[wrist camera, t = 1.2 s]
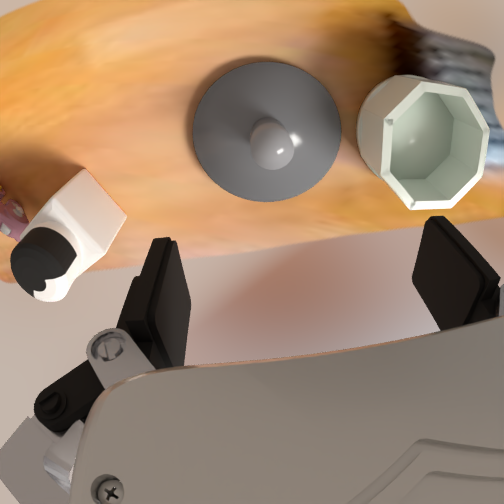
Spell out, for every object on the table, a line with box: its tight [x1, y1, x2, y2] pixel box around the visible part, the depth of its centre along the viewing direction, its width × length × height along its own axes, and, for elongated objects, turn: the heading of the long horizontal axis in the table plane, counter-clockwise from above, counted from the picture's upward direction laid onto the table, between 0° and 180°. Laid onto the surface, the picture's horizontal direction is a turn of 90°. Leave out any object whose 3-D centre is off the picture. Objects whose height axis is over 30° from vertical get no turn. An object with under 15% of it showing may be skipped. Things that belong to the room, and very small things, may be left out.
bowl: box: [356, 75, 490, 210], centre depth 25 cm, size 12×12×6 cm
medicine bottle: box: [10, 169, 127, 302], centre depth 26 cm, size 7×7×12 cm
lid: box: [193, 62, 341, 202], centre depth 25 cm, size 13×13×6 cm
